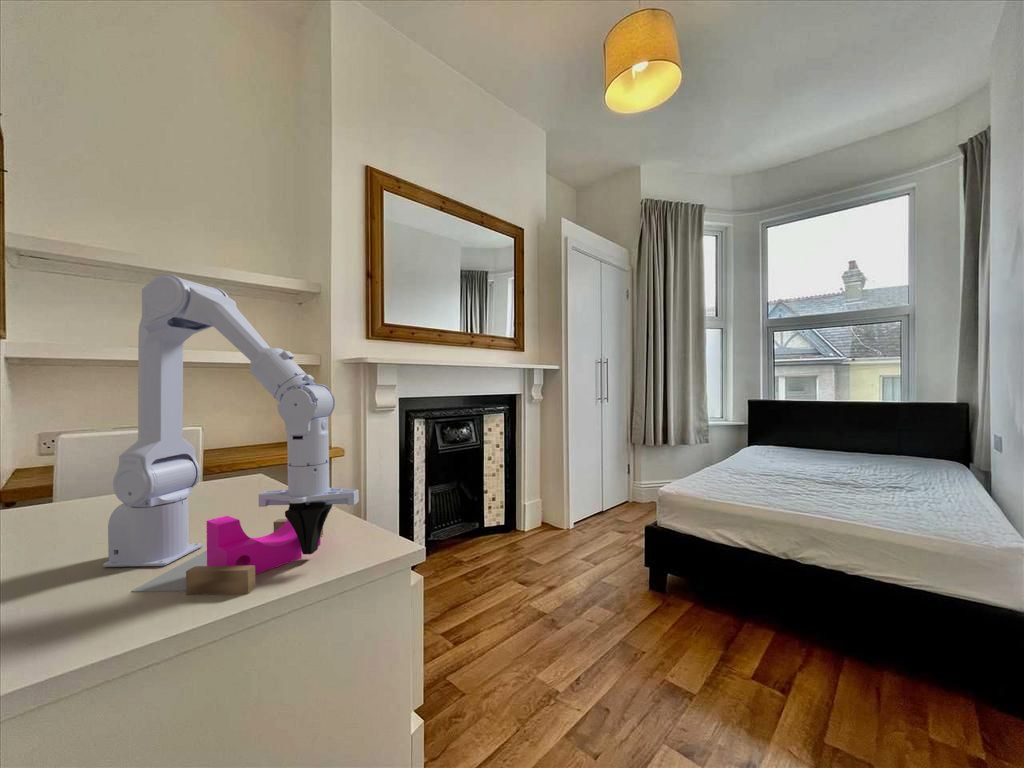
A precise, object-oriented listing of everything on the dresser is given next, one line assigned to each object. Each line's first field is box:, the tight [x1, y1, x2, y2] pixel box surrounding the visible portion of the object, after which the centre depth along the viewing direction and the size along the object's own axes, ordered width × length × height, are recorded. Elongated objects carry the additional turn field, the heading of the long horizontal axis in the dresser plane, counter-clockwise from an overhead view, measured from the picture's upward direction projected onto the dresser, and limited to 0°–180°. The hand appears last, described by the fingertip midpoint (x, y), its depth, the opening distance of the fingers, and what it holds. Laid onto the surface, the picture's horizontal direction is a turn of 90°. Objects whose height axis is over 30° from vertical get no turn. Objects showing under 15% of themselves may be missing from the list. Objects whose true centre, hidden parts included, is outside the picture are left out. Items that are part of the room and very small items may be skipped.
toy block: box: [206, 515, 321, 575], centre depth 64 cm, size 15×6×8 cm, turn 146°
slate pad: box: [130, 550, 207, 593], centre depth 65 cm, size 8×19×1 cm, turn 179°
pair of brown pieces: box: [185, 518, 324, 596], centre depth 64 cm, size 8×21×3 cm, turn 0°
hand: (310, 551), depth 64 cm, fingers closed
